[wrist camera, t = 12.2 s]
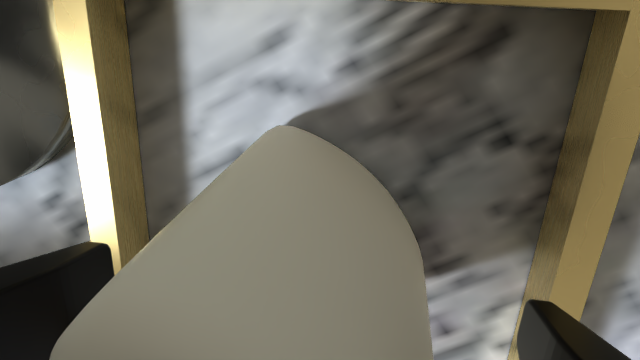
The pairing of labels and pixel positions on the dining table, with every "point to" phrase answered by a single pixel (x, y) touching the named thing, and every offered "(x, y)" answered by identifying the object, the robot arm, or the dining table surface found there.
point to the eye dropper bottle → (269, 270)
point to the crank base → (30, 88)
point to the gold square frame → (601, 55)
